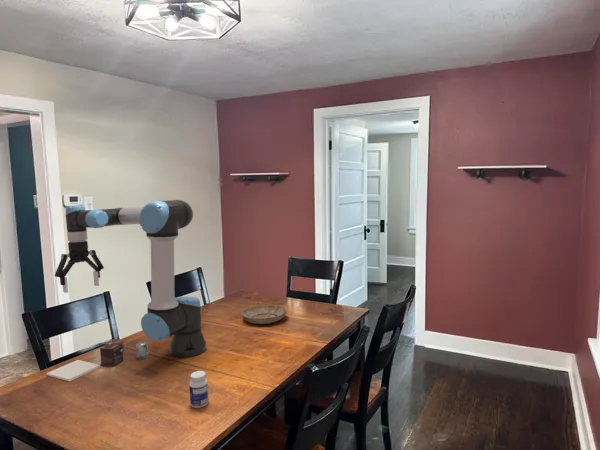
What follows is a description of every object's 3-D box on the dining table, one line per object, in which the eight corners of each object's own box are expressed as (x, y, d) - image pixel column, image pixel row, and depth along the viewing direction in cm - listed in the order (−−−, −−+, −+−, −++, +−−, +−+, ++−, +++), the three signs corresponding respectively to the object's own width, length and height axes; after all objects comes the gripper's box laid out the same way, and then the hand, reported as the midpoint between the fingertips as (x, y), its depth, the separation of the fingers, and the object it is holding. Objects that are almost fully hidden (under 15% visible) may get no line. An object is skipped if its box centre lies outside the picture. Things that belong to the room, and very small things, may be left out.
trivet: (100, 367, 161) (100, 365, 161) (69, 381, 149) (69, 379, 149) (78, 361, 166) (77, 359, 166) (46, 375, 155) (46, 373, 155)
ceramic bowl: (295, 317, 217) (295, 308, 216) (268, 331, 197) (268, 320, 197) (260, 311, 229) (260, 302, 229) (232, 323, 210) (232, 313, 209)
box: (114, 367, 161) (113, 349, 160) (100, 366, 162) (99, 348, 161) (123, 360, 167) (122, 343, 166) (110, 359, 168) (109, 342, 167)
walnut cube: (123, 350, 177) (123, 339, 176) (116, 355, 172) (115, 344, 172) (113, 350, 178) (112, 339, 177) (106, 354, 173) (105, 343, 172)
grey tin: (150, 356, 170) (149, 342, 170) (142, 360, 166) (141, 346, 166) (142, 354, 172) (142, 340, 172) (134, 358, 168) (133, 344, 168)
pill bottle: (192, 399, 134) (190, 370, 133) (209, 398, 135) (208, 369, 134) (188, 409, 128) (187, 378, 128) (207, 407, 129) (205, 377, 128)
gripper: (100, 237, 191) (104, 282, 192) (42, 244, 170) (47, 294, 172) (109, 238, 186) (113, 283, 188) (51, 245, 166) (56, 296, 168)
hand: (81, 288), depth 180 cm, fingers open, 13 cm apart
